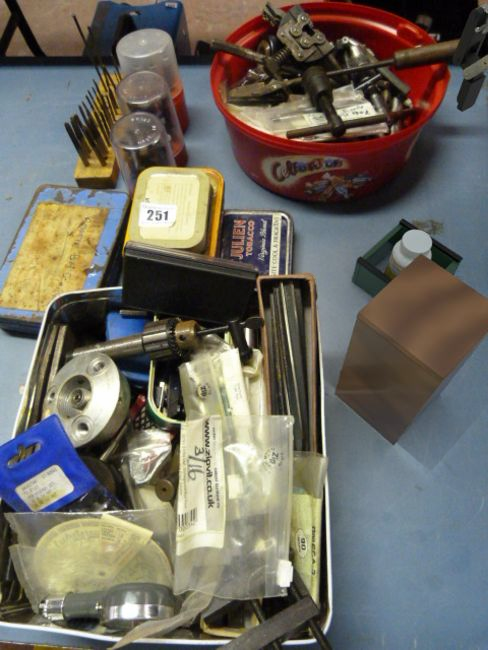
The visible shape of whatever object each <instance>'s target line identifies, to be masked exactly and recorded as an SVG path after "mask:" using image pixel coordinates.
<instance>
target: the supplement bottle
mask: <svg viewBox="0 0 488 650" xmlns="http://www.w3.org/2000/svg"><path fill="white" fill-rule="evenodd" d="M430 236H431V235H430V234H428V233H427V232H425V231H423V230H422V231H421V229H420V230H410V231H408V232H406V233H405V234H404V235H403V237H402V240H400V241H398V242H397V243H396V244H395V246H394V248H393V250H392V251H391V252H390V256H389V259H388V262H387V265H386V268H385V270H384V272H383V273H384V274H386V275H387V276H388V277H390V278H391V279H394V278H395V277H396V276H397V275H398V274H399V273H400V272H401V271H402V270H404V269H405V268H406V267H407V266H408V265H409V264H410V263H411V262H412V261H413V260H414V259H415V258H416V257H417V256H418V255H419V254H423V255H424V256H426V257H427V258H429V259H430V260H431V250H430V249H431V246H432V240H431V238H430Z"/></svg>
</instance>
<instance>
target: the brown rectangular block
mask: <svg viewBox="0 0 488 650" xmlns="http://www.w3.org/2000/svg"><path fill="white" fill-rule="evenodd" d="M487 336H488V298H487V297H486V296H485V295H483V294H482V293H481V292H479V291H478V290H476V289H475V288H473V287H472V286H470V285H468V284H467V283H465V282H464V281H463V280H461V279H460V278H459V277H457V276H455V274H454V275H452V274H451V273H449V272H448V271H446V270H445V269H443V268H442V267H440V266H439V265H437V264H436V263H435V262H433V261H432V260H430V259H429V258H427V257H426V256H424V255H423V254H419V255H418V256H417V257H416V258H415V259H414V260H413V261H412V262H411V263H410V264H409V265H408V266H407V267H406V268H405V269H404V270H402V271H401V272H400V273H399V274H398V275H397V276H396V277H395V278H394V279H393V280H392V281H391V282H390V283H389V284H388V285H387V286H386V287H384V288H383V289H382V290H381V291H380V292H379V293H378V294H377V295H376V296H375V297H372V299H370V301H368V303H366V304H365V305H364V306H363V307H362V308H361V309H360V310H359V311H358V313H357V316H356V319H355V323H354V326H353V329H352V332H351V337H350V339H349V343H348V346H347V350H346V353H345V357H344V359H343V364H342V366H341V370H340V373H339V377H338V380H337V384H336V387H335V391H334V395H335V396H336V397H337V398H338V399H339V400H340V401H342V402H343V403H344V404H345V405H346V406H347V407H348V408H349V409H351V410H352V411H353V412H354V413H355V414H357V416H359V417H360V418H361V419H362V420H363V421H364V422H366V423H367V424H368V425H369V426H370V427H371V428H372V429H374V431H376V432H377V433H378V434H379V435H380V436H381V437H382V438H383V439H385V440H386V441H387V442H388V443H389V444H391V446H395V445H397V442H398V441H399V440H400V439H401V438H402V437H403V436H404V435H405V434H406V433H407V431H409V429H410V428H411V427H412V426H413V425H414V424H415V423H416V422H417V421H418V419H420V417H421V416H422V415H423V414H424V413H425V412H426V410H428V409H429V408H430V407H431V405H432V404H433V403H434V402H435V401H436V400H437V398H438V397H439V396H440V395H441V394H442V393H443V391H444V390H445V389H446V388H447V387H448V385H449V384H450V383H451V381H452V380H453V379H454V378H455V376H456V375H457V374H458V373H459V371H460V370H461V369H462V367H463V366H464V365H465V364H466V363H467V361H468V360H469V358H471V356H472V355H473V354H474V352H475V351H476V350H477V349H478V347H479V346H480V345H481V344H482V342H483V341H484V340H485V339H486V337H487Z"/></svg>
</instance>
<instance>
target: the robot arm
mask: <svg viewBox="0 0 488 650" xmlns="http://www.w3.org/2000/svg"><path fill="white" fill-rule="evenodd" d="M487 34H488V2H486V3H484V4H482V5H479V6H478V7H476V8H474V9H472V10H471V11H470V13H469V15H468V18H467V20H466V23H465V26H464V28H463V30H462V33H461V35H460V38H459V40H458V44H457V46H456V48H455V51H454V54H453V56H452V63H453V65H454V66H455V67H460V68H461V70H462V77H463V79H462V82H461V84H460V87H459V90H458V93H457V95H456V102H457V105H456V109H457V110H458V111H460V112H461V113H463V112H466V111H467V110H469V109H471V108H472V107H474V105H475V104H476V102H477V101H478V97H479V95H480V93H481V90H482V87H483V85H484V83H485V80H486V78H487V75H486V74H484V73H485V72H487V71H488V54H486V55H484V56H483V57H480V56H479V52H480V50H481V47H482V46H483V43H484V40H485V39H486V36H487Z"/></svg>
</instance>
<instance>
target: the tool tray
mask: <svg viewBox="0 0 488 650" xmlns="http://www.w3.org/2000/svg"><path fill="white" fill-rule="evenodd" d="M410 230H421V229H420V228H418V227H417V226H416V225H414V224H413V223H411V222H410V221H408V220H406V219H405V218H404V217H402V218H401V219H399V222H398V224H397V225H395V227H393V228H392V229H391V230H390V231H389V232H388V233H387V234H385V235H384V236H383V237H381V239H379V241H377V242H376V243H375V244H374V245H372V247H371V248H370V249H369V250H367V252H365V253H364V254H363V255H362V256H359V257H358V258H356V262H355V265H354V270H353V273H352V277H351V282H352V283H354V284H355V285H356V286H358V287H359V288H361V289H362V290H363V291H364V292H366V293H367V294H368V295H370V296H371V297H372V298H374V297H375V296H376V295H377V294H378V293H379V292H380V291H381V290H382V289H383V288H384V287H386V286H387V285H388V284H389V283H390V282H391V281H392V280H393V279H391V278H390V277H388V276H387V275H386V274H384V273H385V272H383V271H382V270H380V269H379V268H377V267H376V266H377V265H378V263H380V262H382V260H383V259H385V257H387V256H388V255H389V254H391V253H392V250H393V248H394V246H395V244H396V243H397V242H398V241H400V240H402V237H403V235H404V234H405V233H406V232H408V231H410ZM421 231H423V230H421ZM429 236H430V238H431V240H432V246H431V249H430V250H431V260H432V261H433V262H435V263H436V264H437V265H439V266H440V267H442V268H443V269H445V270H446V271H448V272H449V273H451V274H452V275H454V276H455V274H456V272H457V270H458V268H459V267H460V265H461V263H462V261H463V260H464V257H462V256H461V255H459V254H458V253H456V252H455V251H454V250H452V249H450V248H449V247H447V246H446V245H444V244H443V243H441V242H440V241H439V240H437V239H436V238H434V237H432V236H431V235H429Z"/></svg>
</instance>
